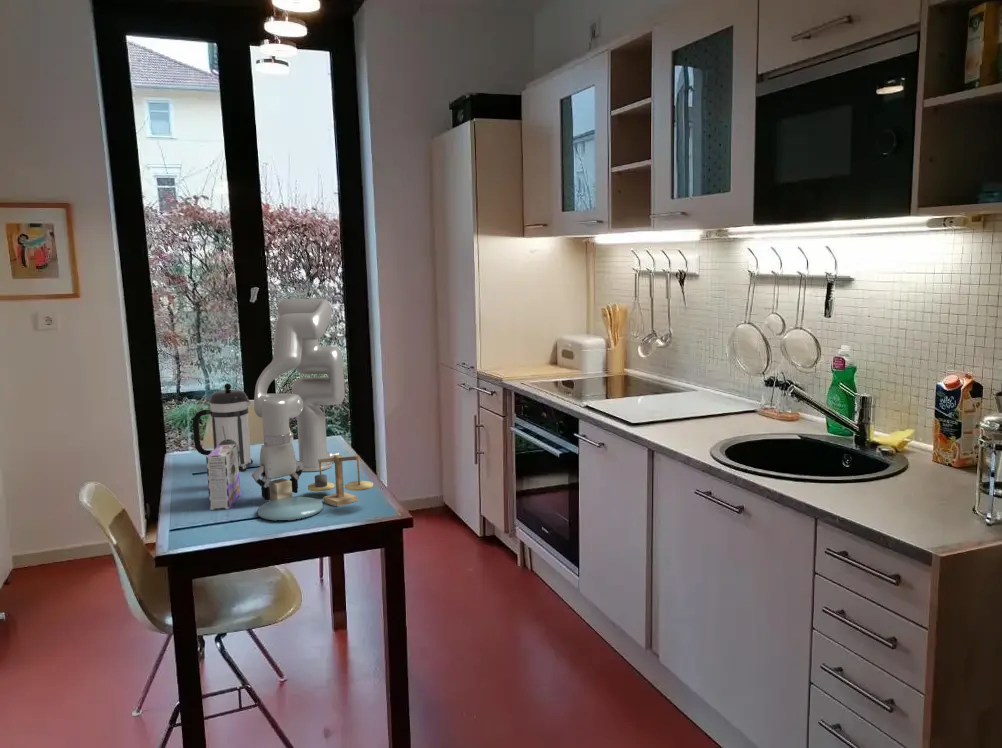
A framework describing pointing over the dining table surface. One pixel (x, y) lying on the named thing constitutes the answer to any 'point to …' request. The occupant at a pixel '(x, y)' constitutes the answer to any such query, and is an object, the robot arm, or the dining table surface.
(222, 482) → the candy box
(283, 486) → the block
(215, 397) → the coffee press
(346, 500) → the balance
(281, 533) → the dining table surface
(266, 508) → the dish
